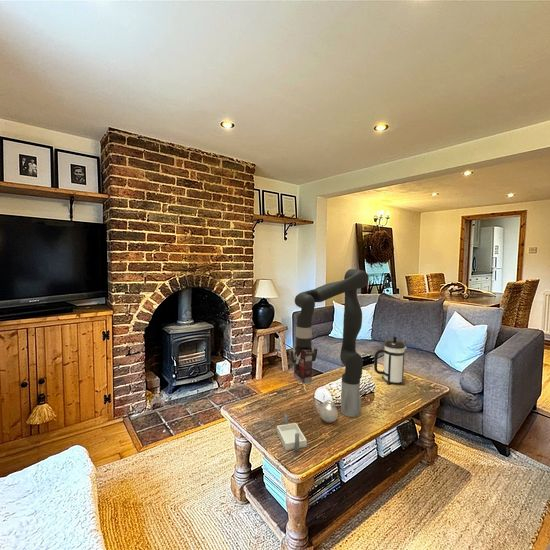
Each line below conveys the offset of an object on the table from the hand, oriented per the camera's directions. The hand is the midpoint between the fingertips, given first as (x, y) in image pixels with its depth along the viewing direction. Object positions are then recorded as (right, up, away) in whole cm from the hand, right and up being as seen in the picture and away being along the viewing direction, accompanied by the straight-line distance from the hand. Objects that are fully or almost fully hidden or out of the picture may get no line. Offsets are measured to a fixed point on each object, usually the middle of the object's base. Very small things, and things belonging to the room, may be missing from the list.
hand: (302, 370), depth 144 cm
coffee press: (+62, -24, +52) cm, 85 cm away
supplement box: (0, -5, 0) cm, 5 cm away
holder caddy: (-6, -28, -8) cm, 30 cm away
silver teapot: (+14, -28, +7) cm, 32 cm away
